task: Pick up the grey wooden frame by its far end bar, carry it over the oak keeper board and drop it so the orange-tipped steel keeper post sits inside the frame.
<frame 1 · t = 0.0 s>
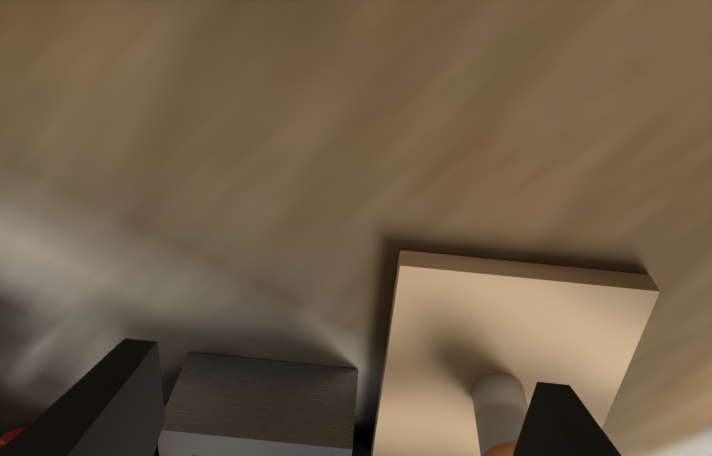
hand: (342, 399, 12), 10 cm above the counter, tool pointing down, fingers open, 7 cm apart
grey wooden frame: (272, 442, 28), on the counter
keeper board: (494, 373, 25), on the counter
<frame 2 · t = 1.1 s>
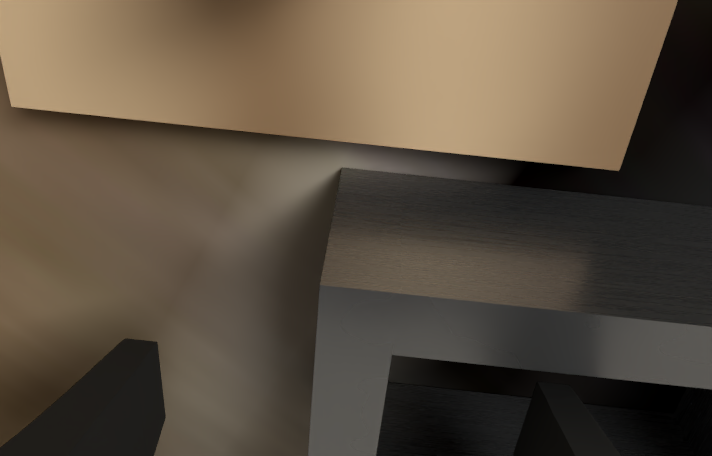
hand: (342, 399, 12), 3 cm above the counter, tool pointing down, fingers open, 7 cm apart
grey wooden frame: (545, 326, 14), on the counter
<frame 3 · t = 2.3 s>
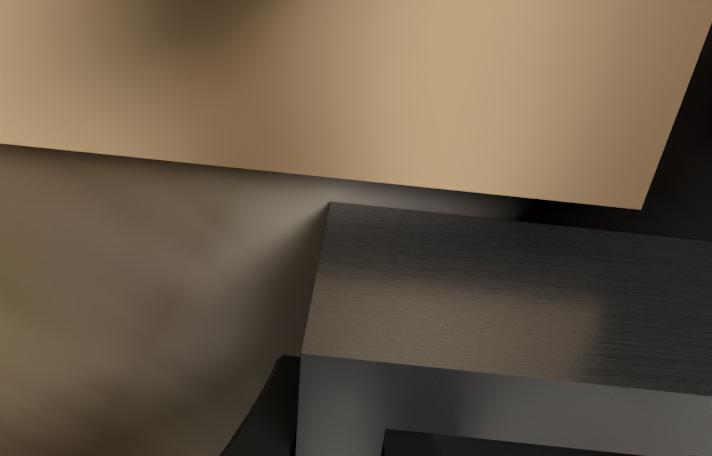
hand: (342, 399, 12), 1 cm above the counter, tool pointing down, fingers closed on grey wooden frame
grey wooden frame: (554, 370, 13), on the counter, touching gripper
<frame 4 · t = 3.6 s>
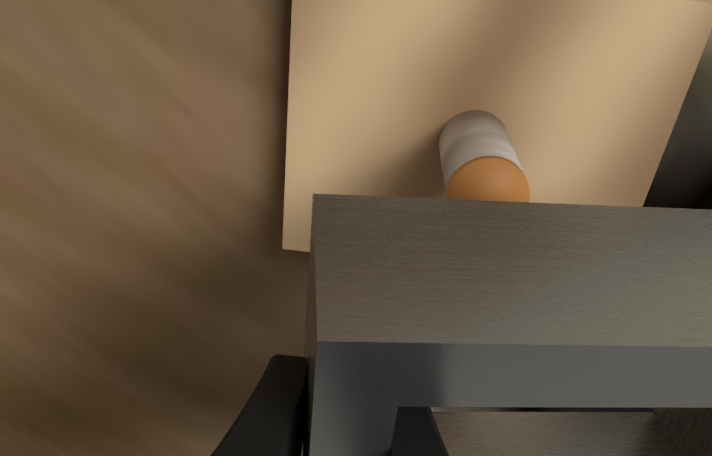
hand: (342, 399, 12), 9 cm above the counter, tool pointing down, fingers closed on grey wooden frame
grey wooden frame: (529, 340, 14), point 7 cm above the counter, tilted 8°, touching gripper
keeper board: (469, 129, 19), on the counter
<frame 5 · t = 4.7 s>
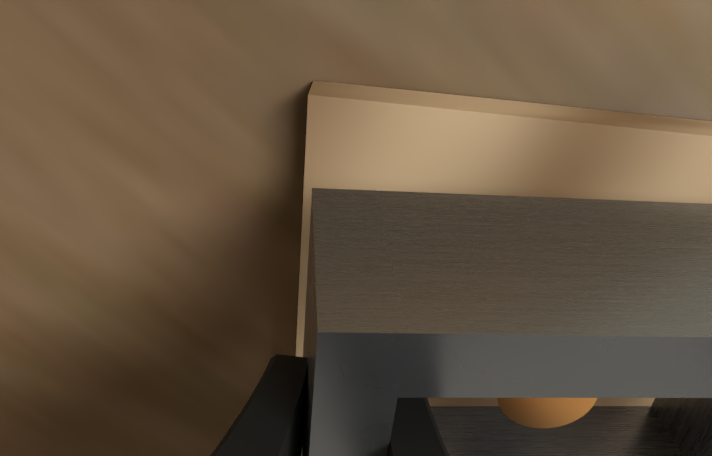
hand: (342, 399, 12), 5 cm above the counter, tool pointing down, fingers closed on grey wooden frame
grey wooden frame: (527, 334, 14), point 3 cm above the counter, tilted 8°, touching gripper
keeper board: (511, 267, 16), on the counter
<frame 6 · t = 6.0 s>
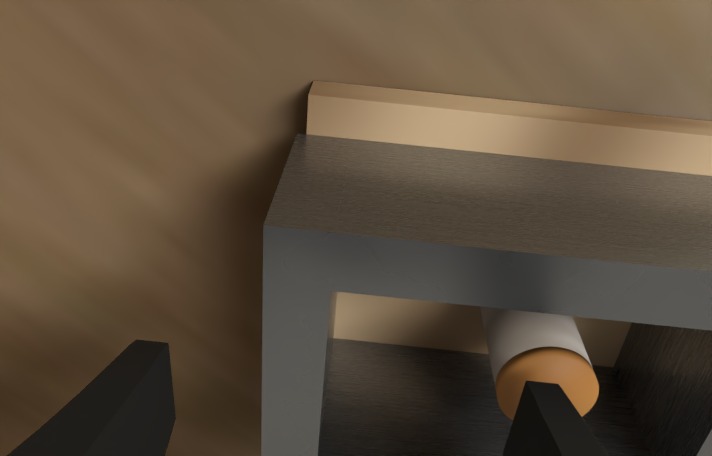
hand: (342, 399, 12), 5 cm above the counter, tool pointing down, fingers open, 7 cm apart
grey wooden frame: (490, 283, 15), point 1 cm above the counter, touching keeper board
keeper board: (511, 267, 16), on the counter
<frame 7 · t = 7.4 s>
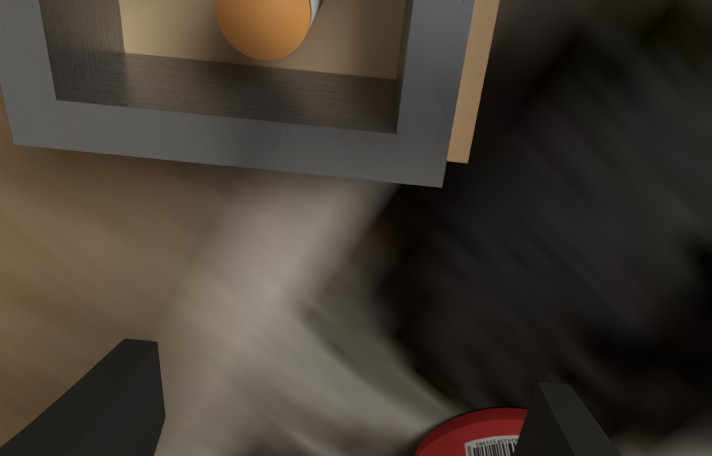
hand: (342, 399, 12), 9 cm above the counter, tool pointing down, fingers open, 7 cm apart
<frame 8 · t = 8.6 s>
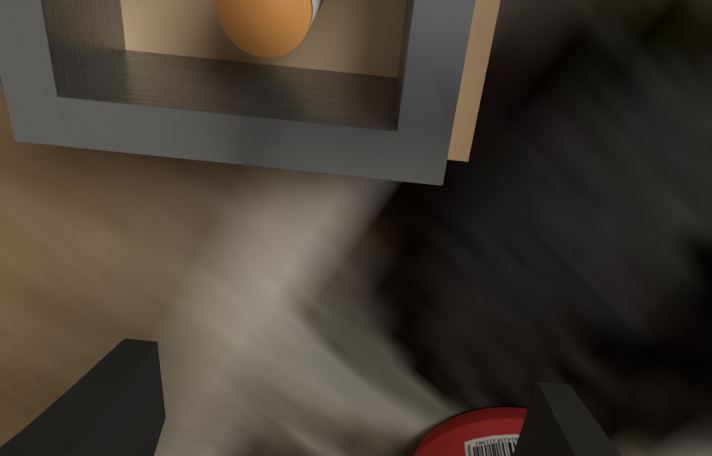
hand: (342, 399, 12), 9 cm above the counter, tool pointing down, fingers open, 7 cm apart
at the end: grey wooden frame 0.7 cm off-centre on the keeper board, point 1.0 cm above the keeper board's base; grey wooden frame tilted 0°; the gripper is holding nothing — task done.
